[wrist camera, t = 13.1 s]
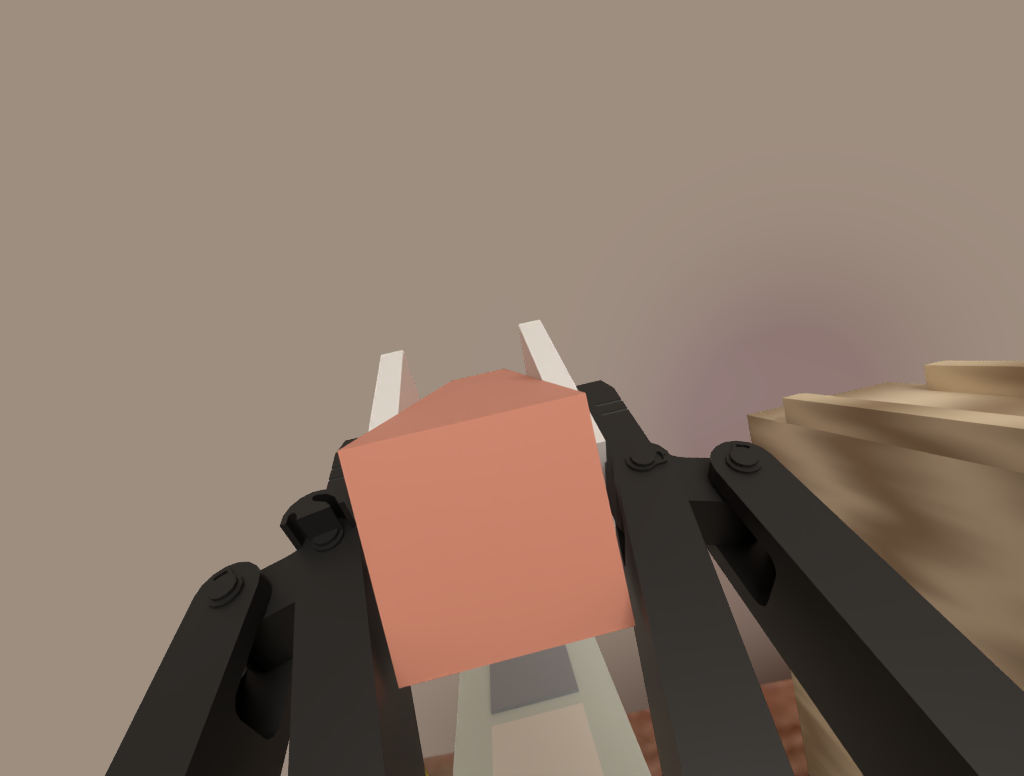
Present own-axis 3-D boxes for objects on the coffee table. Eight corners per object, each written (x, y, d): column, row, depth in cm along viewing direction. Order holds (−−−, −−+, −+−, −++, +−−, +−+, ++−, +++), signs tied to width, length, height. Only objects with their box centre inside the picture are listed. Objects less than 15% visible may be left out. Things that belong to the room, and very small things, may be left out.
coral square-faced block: (635, 625, 7) (585, 392, 7) (399, 688, 7) (337, 451, 7) (515, 420, 33) (503, 368, 33) (464, 432, 33) (451, 380, 33)
